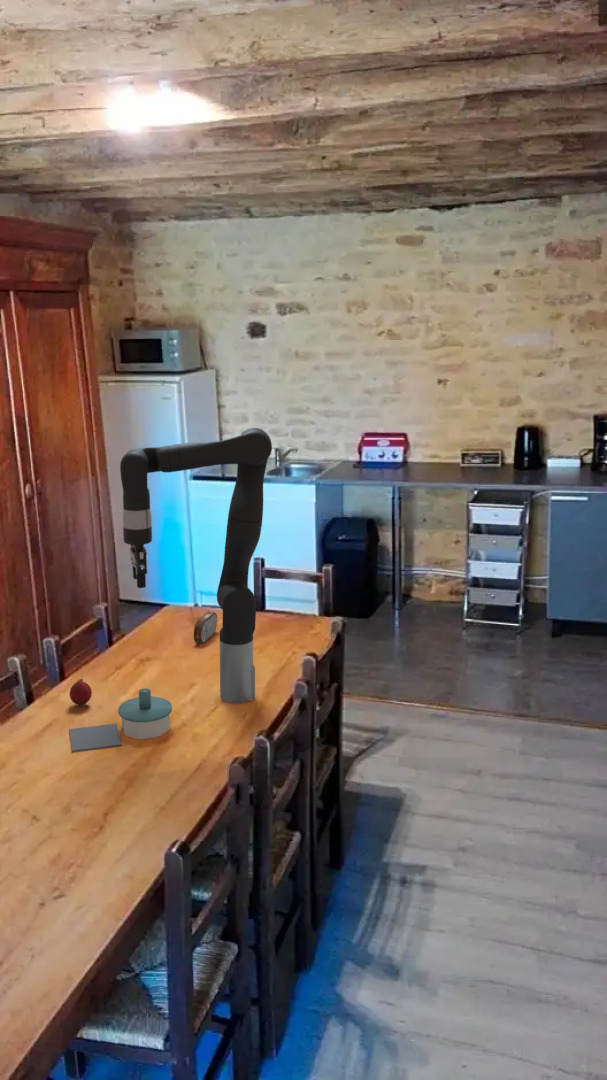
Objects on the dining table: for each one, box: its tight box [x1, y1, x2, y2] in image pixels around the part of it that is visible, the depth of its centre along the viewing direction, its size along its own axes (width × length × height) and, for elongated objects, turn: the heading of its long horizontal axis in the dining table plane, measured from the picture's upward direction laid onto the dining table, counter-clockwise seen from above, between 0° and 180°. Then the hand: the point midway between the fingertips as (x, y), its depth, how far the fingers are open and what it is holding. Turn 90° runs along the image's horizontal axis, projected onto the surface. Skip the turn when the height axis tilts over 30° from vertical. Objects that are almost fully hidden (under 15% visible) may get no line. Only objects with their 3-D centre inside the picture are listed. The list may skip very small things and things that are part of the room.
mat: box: [68, 722, 123, 753], centre depth 223 cm, size 12×12×1 cm
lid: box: [117, 687, 173, 722], centre depth 227 cm, size 14×14×5 cm
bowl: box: [121, 714, 171, 740], centre depth 228 cm, size 12×12×5 cm
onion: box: [69, 677, 92, 707], centre depth 240 cm, size 6×6×8 cm
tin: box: [193, 610, 218, 644], centre depth 291 cm, size 15×3×8 cm, turn 164°
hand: (139, 582), depth 240 cm, fingers open, 8 cm apart
